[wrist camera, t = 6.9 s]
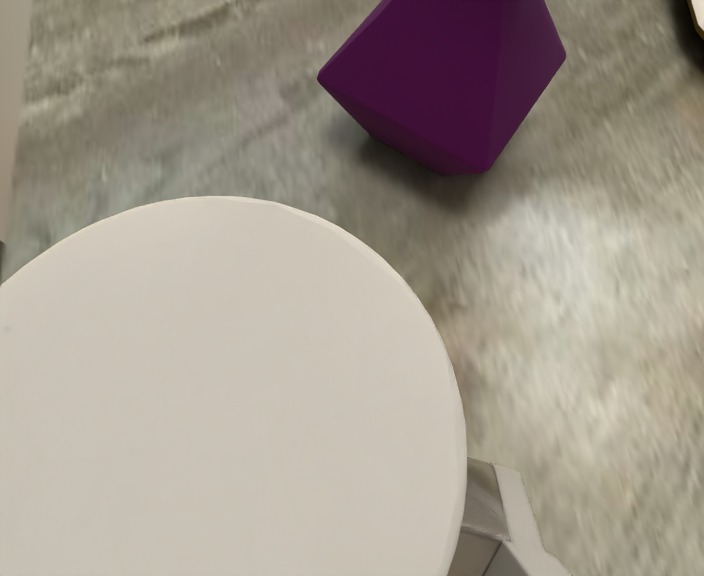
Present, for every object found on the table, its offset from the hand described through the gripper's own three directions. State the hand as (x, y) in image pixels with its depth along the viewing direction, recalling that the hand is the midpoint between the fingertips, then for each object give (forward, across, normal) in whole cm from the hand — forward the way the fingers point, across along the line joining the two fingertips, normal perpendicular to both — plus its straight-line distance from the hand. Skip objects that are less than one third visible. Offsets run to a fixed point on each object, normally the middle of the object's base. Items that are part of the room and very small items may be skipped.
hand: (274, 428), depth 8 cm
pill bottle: (+4, 0, +5) cm, 6 cm away
